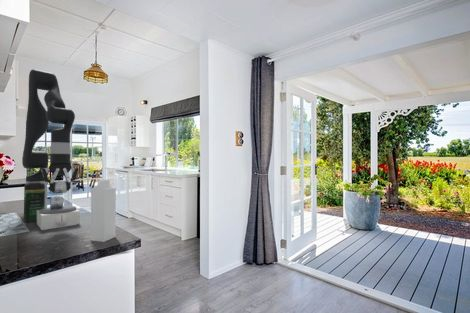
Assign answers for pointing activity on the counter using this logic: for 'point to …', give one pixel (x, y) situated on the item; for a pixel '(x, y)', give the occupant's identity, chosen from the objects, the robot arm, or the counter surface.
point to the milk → (103, 211)
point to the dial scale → (58, 217)
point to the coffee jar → (33, 200)
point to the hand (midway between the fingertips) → (60, 191)
